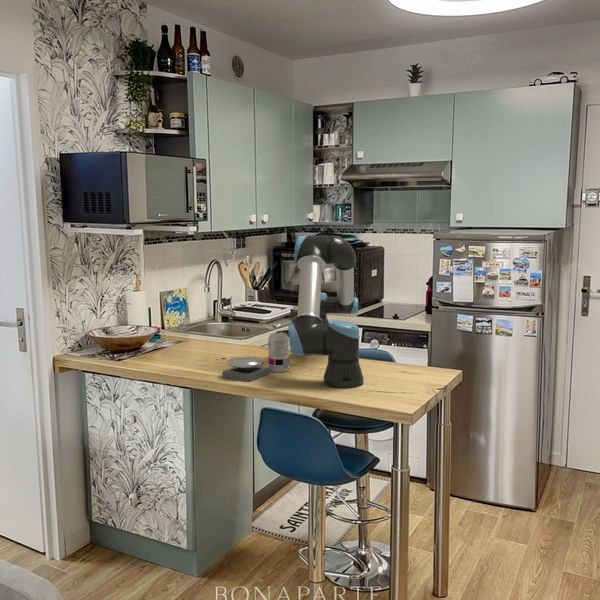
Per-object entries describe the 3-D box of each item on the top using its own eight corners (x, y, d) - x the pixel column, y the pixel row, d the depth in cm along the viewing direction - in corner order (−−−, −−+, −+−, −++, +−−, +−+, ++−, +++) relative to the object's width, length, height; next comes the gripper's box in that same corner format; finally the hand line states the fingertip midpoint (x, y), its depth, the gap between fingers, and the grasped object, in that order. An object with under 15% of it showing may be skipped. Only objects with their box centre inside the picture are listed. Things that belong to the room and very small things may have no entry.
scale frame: (268, 374, 254) (268, 367, 254) (250, 381, 243) (250, 375, 243) (242, 370, 261) (241, 364, 261) (222, 377, 250) (222, 371, 249)
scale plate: (270, 368, 254) (270, 359, 254) (250, 376, 242) (250, 366, 242) (241, 364, 261) (241, 355, 261) (220, 372, 249) (220, 362, 249)
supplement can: (265, 371, 259) (265, 335, 257) (273, 367, 266) (273, 331, 264) (284, 373, 256) (283, 336, 254) (291, 368, 263) (291, 333, 261)
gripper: (335, 340, 283) (316, 351, 264) (285, 336, 293) (263, 345, 274) (335, 324, 282) (316, 333, 263) (285, 320, 292) (263, 328, 273)
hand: (289, 339), depth 268 cm, fingers open, 13 cm apart
